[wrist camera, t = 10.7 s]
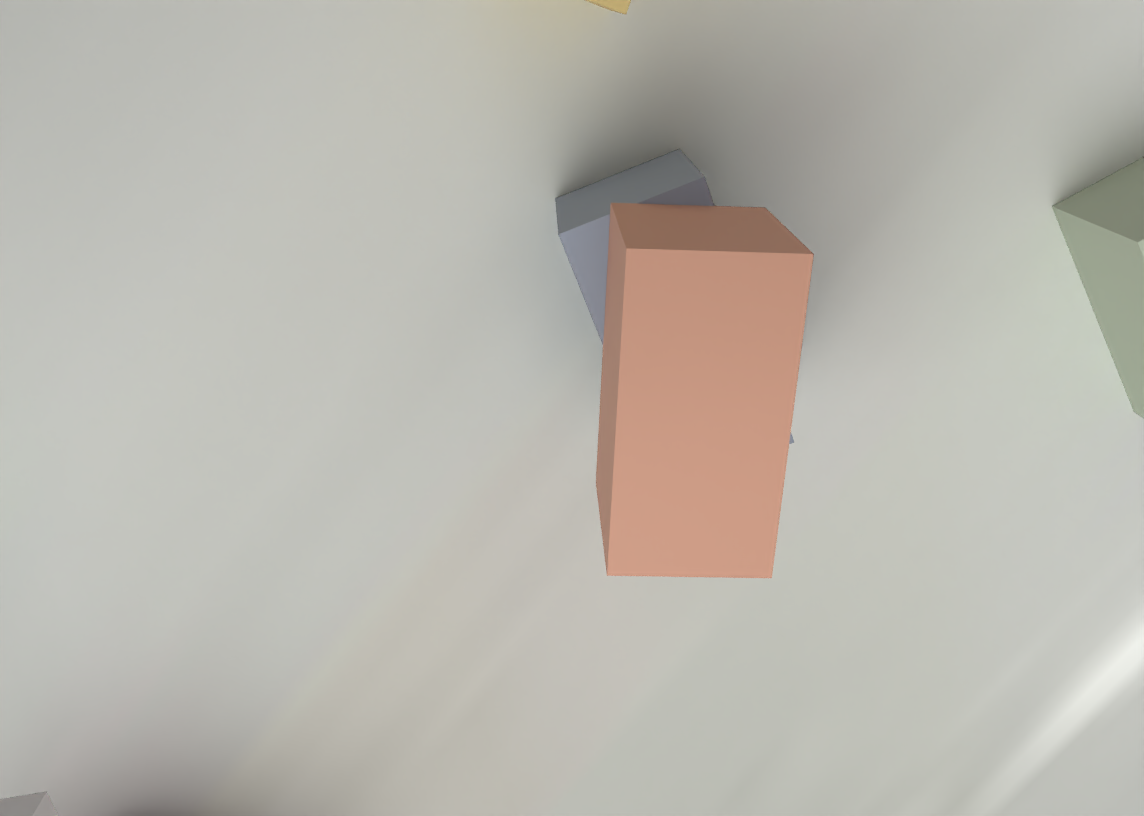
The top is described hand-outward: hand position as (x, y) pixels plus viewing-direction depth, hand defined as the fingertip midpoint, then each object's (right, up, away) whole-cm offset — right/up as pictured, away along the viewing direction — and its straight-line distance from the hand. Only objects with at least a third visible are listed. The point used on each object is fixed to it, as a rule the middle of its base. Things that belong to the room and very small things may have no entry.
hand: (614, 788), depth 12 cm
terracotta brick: (+2, +6, +16) cm, 17 cm away
